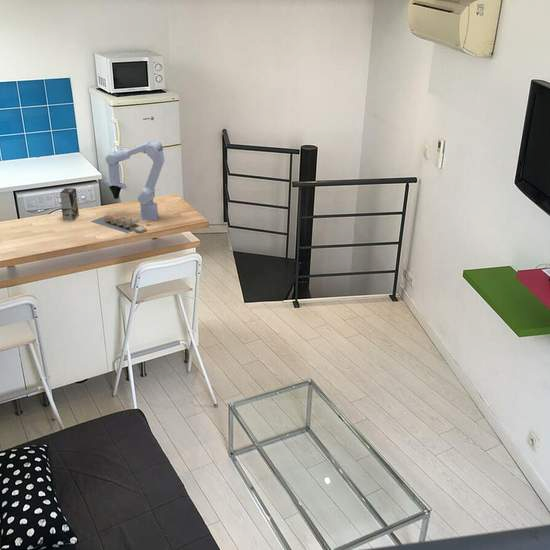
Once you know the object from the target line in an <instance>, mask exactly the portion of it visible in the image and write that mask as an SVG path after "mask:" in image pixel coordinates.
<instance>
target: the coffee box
mask: <svg viewBox="0 0 550 550" xmlns="http://www.w3.org/2000/svg"><path fill="white" fill-rule="evenodd" d="M59 197H60V205H61V207H60V208H61V213H62V220H63V221H71V222H73V221H76V220H77V218H78V217H79V216H80V214H79V213H80V211H79V204H78V195H77V188H74V187H73V188H71V187H70V188H66V187H64V189H63V190H61V192H60V193H59Z"/></svg>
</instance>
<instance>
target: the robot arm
mask: <svg viewBox="0 0 550 550" xmlns="http://www.w3.org/2000/svg"><path fill="white" fill-rule="evenodd" d="M139 153H143V154H146V156H148V157H149V158H150V159H151V160H152V162H153V164H152V166H151V169H150V170H149V171H150V172H149V174H148V176H147V180H146V182H145V184H144V185H145V186H144V187H143V189H142V191H141V193H140V194H139V195H138V196H137V201H138V203H139V204H140V218H139V221H158V218H159V210H158V202H154V198H155V196H156V194H155V191H156V188H155V187H156V185H157V182H158V179H159V176H160V174H161V172H162V169H163V166H164V162H165V156H164V146H163V145H162V143H161V142H160V141H159V140H156V139H154V140H153V141H147V142H144V143H141V144H139V145H137V146H136V145H135V146H134V147H131V148H130V149H128V148H124V147H122V148H120V149H119V150H117V151H113V152H111V153H109V154H108V155H107V156H106V157H105V162H106V164H107V166H108V175H109V176H108V178H109V179H105V180H104V184H105V185H108V186H109V187H108V188H109V189H110V191H111V194H112V196H113V199H115V200H117V199H119V198H120V194H121V190H122V189H123V190H124V189H125V190H126V189H127V185H126V184H125V183H123V182H121V176H120V175H121V174H120V163H121V162H123V161H126V160H129V159H130V158H131V156H132V155H136V154H139Z"/></svg>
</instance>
